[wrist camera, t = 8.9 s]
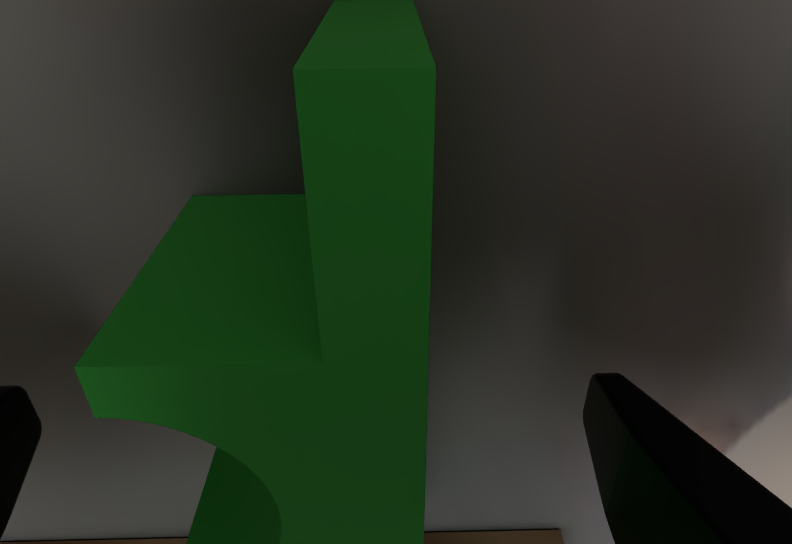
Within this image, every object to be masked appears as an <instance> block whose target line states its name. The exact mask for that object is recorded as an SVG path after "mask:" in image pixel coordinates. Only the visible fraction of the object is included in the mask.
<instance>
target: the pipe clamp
mask: <svg viewBox="0 0 792 544" xmlns="http://www.w3.org/2000/svg"><path fill="white" fill-rule="evenodd" d="M292 71H293V81H294V90H295V100H296V110H297V119H298V129H299V139H300V149H301V158H302V168H303V178H304V187H305V194H268V195H204V196H192V197H191V198H190V200H189V201H188V203H187V204H186V206H185V207H184V209H183V210H182V211H181V213H180V214H179V216H178V217H177V219H176V220H175V222H174V223H173V225H172V226H171V227H170V229H169V230H168V232H167V233H166V235H165V236H164V238H163V239H162V240H161V242H160V243H159V245H158V246H157V248H156V249H155V251H154V252H153V253H152V255H151V256H150V258H149V259H148V261H147V262H146V264H145V265H144V267H143V268H142V269H141V271H140V272H139V274H138V275H137V277H136V278H135V280H134V281H133V282H132V284H131V285H130V287H129V288H128V290H127V291H126V293H125V294H124V296H123V297H122V298H121V300H120V301H119V303H118V304H117V306H116V307H115V309H114V310H113V311H112V313H111V314H110V316H109V317H108V319H107V320H106V322H105V323H104V324H103V326H102V327H101V329H100V330H99V332H98V333H97V335H96V336H95V338H94V339H93V340H92V342H91V343H90V345H89V346H88V348H87V349H86V351H85V352H84V353H83V355H82V356H81V358H80V359H79V361H78V362H77V364H76V365H75V367H74V369H75V371H76V374H77V376H78V379H79V381H80V384H81V386H82V388H83V391H84V393H85V396H86V398H87V401H88V403H89V406H90V408H91V410H92V413H93V415H94V418H116V419H126V420H135V421H141V422H147V423H152V424H156V425H160V426H165V427H169V428H172V429H175V430H178V431H181V432H185V433H187V434H190V435H192V436H195V437H197V438H200V439H202V440H204V441H206V442H208V443H211V444H213V445H215V446H217V447H216V451H215V454H214V457H213V460H212V463H211V466H210V469H209V473H208V476H207V479H206V482H205V485H204V488H203V492H202V495H201V498H200V501H199V504H198V507H197V510H196V514H195V517H194V520H193V523H192V526H191V529H190V533H189V536H188V539H187V542H186V544H424V510H425V473H426V435H427V398H428V361H429V323H430V286H431V248H432V211H433V173H434V136H435V99H436V65H435V62H434V59H433V56H432V53H431V51H430V48H429V45H428V42H427V39H426V36H425V33H424V30H423V27H422V24H421V21H420V19H419V16H418V13H417V10H416V7H415V4H414V1H413V0H334V2H333V3H332V5H331V7H330V8H329V10H328V11H327V13H326V15H325V16H324V18H323V20H322V21H321V23H320V25H319V26H318V28H317V30H316V31H315V33H314V35H313V36H312V38H311V40H310V41H309V43H308V45H307V46H306V48H305V49H304V51H303V53H302V54H301V56H300V58H299V59H298V61H297V63H296V64H295V66H294V68H293V69H292Z"/></svg>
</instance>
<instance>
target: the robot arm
mask: <svg viewBox="0 0 792 544" xmlns="http://www.w3.org/2000/svg"><path fill="white" fill-rule="evenodd" d="M583 423H584V428H585V432H586V436H587V441H588V445H589V449H590V453H591V458H592V462H593V466H594V470H595V474H596V479H597V483H598V487H599V491H600V496H601V500H602V504H603V508H604V511H605V515H606V518H607V521H608V524H609V527H610V530H611V533H612V536H613V539H614V541H615V544H792V508H791V507H789V506H788V505H787V504H786V503H784V502H783V501H782V500H781V499H779V498H778V497H777V496H775V495H774V494H773V493H772V492H770V491H769V490H768V489H767V488H765V487H764V486H763V485H761V484H760V483H759V482H758V481H756V480H755V479H754V478H753V477H751V476H750V475H748V474H747V473H746V472H745V471H744V470H742V469H741V468H740V467H739V466H737V465H736V464H735V463H734V462H732V461H731V460H729V459H728V458H727V457H726V456H725V455H723V454H722V453H721V452H720V451H718V450H717V449H716V448H714V447H713V446H712V445H711V444H709V443H708V442H707V441H706V440H704V439H703V438H702V437H700V436H699V435H698V434H697V433H695V432H694V431H693V430H692V429H690V428H689V427H688V426H686V425H685V424H684V423H683V422H681V421H680V420H679V419H678V418H676V417H675V416H674V415H672V414H671V413H670V412H669V411H667V410H666V409H665V408H664V407H662V406H661V405H660V404H658V403H657V402H656V401H655V400H653V399H652V398H651V397H650V396H648V395H647V394H646V393H644V392H643V391H642V390H641V389H639V388H638V387H637V386H636V385H634V384H633V383H632V382H630V381H629V380H628V379H627V378H625V377H624V376H623V375H621V374H619V373H596V374H594V375H592V377H591V379H590V382H589V387H588V391H587V396H586V400H585V404H584V409H583ZM41 431H42V426H41V421H40V419H39V417H38V415H37V413H36V410H35V408H34V406H33V404H32V402H31V400H30V398H29V396H28V394H27V392H26V391H25V389H23V388H22V387H21V386H0V539H1V537H2V535H3V533H4V530H5V528H6V526H7V523H8V521H9V519H10V516H11V514H12V511H13V509H14V506H15V503H16V501H17V498H18V495H19V493H20V490H21V487H22V485H23V482H24V479H25V477H26V474H27V471H28V469H29V466H30V463H31V461H32V458H33V456H34V453H35V450H36V448H37V445H38V442H39V440H40V436H41Z"/></svg>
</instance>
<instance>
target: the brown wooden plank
mask: <svg viewBox="0 0 792 544" xmlns="http://www.w3.org/2000/svg"><path fill="white" fill-rule="evenodd" d="M187 539H188V538H173V539H128V540H84V541H39V542H0V544H186V542H187ZM424 544H564V542H563V539H562V535H561V532H560V530H528V531H484V532H439V533H424Z"/></svg>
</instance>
